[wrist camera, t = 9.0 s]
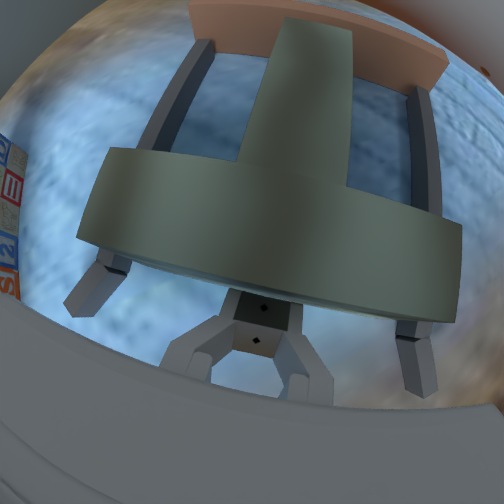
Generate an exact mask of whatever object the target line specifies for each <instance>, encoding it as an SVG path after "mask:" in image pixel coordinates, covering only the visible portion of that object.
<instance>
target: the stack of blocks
mask: <svg viewBox="0 0 504 504" xmlns="http://www.w3.org/2000/svg"><path fill="white" fill-rule="evenodd" d="M27 160H28V154H27V153H25V152H24V151H23V150H21V149H20V148H19V147H17V146H16V145H15V144H14V143H11V142H10V141H9V140H8V139H7V138H6V137H4V136H3V135H2V134H1V133H0V294H1V293H8V294H10V295H11V296H13V297H14V298H16V299H17V300H19V301H20V291H19V272H18V226H19V212H20V206H21V197H22V189H23V182H24V176H25V170H26V165H27Z"/></svg>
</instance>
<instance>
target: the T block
mask: <svg viewBox="0 0 504 504" xmlns="http://www.w3.org/2000/svg"><path fill="white" fill-rule="evenodd" d="M352 98H353V42H352V31H350V30H346V29H343V28H339V27H335V26H331V25H326V24H322V23H317V22H312V21H307V20H302V19H296V18H290V17H285V18H284V21H283V23H282V26H281V29H280V31H279V34H278V37H277V39H276V42H275V45H274V48H273V50H272V53H271V56H270V59H269V62H268V64H267V67H266V70H265V73H264V76H263V79H262V82H261V85H260V88H259V91H258V94H257V97H256V100H255V103H254V106H253V109H252V112H251V115H250V118H249V121H248V124H247V127H246V130H245V134H244V137H243V140H242V143H241V146H240V150H239V153H238V156H237V160H236V162H234V161H228V160H222V159H216V158H209V157H202V156H195V155H188V154H180V153H172V152H163V151H154V150H143V149H132V148H118V147H110V149H109V151H108V153H107V155H106V157H105V160H104V162H103V164H102V166H101V169H100V171H99V173H98V176H97V178H96V181H95V183H94V186H93V188H92V191H91V194H90V196H89V199H88V202H87V205H86V207H85V210H84V213H83V216H82V219H81V222H80V226H79V229H78V232H77V235H76V238H78V239H80V240H83V241H85V242H88V243H90V244H92V245H95V246H97V247H100V248H102V249H105V250H107V251H110V252H112V253H115V254H117V255H120V256H122V257H125V258H127V259H130V260H133V261H135V262H138V263H141V264H143V265H146V266H148V267H152V268H156V269H159V270H163V271H167V272H171V273H174V274H178V275H182V276H186V277H190V278H194V279H198V280H201V281H205V282H209V283H214V284H218V285H222V286H226V287H230V288H234V289H238V290H243V291H247V292H251V293H255V294H260V295H264V296H269V297H273V298H278V299H282V300H287V301H292V302H296V303H301V304H306V305H311V306H315V307H320V308H325V309H330V310H335V311H341V312H346V313H351V314H356V315H362V316H367V317H373V318H380V319H393V320H406V321H422V322H441V323H455V319H456V312H457V305H458V297H459V288H460V277H461V261H462V225H460V224H458V223H455V222H453V221H450V220H448V219H445V218H442V217H440V216H437V215H434V214H432V213H429V212H426V211H423V210H421V209H418V208H415V207H412V206H409V205H406V204H403V203H400V202H397V201H394V200H391V199H387V198H384V197H381V196H378V195H374V194H371V193H368V192H364V191H361V190H357V189H354V188H350V187H346V184H347V175H348V164H349V152H350V139H351V123H352Z"/></svg>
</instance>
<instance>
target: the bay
mask: <svg viewBox="0 0 504 504" xmlns="http://www.w3.org/2000/svg"><path fill="white" fill-rule="evenodd" d="M187 6H188V10H189V15H190V19H191V23H192V28H193V32H194V37H195V41H196V42H195V44H194V45H193V47H192V48H191V50H190V51H189V53H188V54H187V56H186V57H185V59H184V60H183V62H182V64H181V65H180V67H179V68H178V70H177V72H176V73H175V75H174V77H173V78H172V80H171V82H170V83H169V85H168V87H167V89H166V90H165V92H164V94H163V96H162V97H161V99H160V101H159V103H158V105H157V107H156V108H155V110H154V112H153V114H152V116H151V118H150V120H149V122H148V124H147V126H146V128H145V130H144V132H143V134H142V136H141V139H140V141H139V143H138V145H137V147H136V149H143V150H154V151H163V152H169V151H170V149H171V146H172V144H173V142H174V139H175V137H176V135H177V132H178V130H179V128H180V126H181V123H182V121H183V119H184V117H185V115H186V113H187V110H188V108H189V106H190V104H191V102H192V100H193V98H194V96H195V94H196V92H197V90H198V88H199V86H200V84H201V82H202V80H203V78H204V76H205V75H206V73H207V71H208V69H209V67H210V65H211V64H212V62H213V60H214V54H213V52H215V53H232V54H243V55H253V56H261V57H269V58H270V56H271V53H272V50H273V48H274V45H275V42H276V39H277V37H278V34H279V31H280V29H281V26H282V23H283V21H284V18H285V17H290V18H296V19H302V20H307V21H312V22H317V23H322V24H326V25H331V26H335V27H339V28H343V29H346V30H350V31H352V42H353V76H355V77H358V78H361V79H364V80H367V81H370V82H373V83H376V84H379V85H382V86H385V87H387V88H390V89H393V90H395V91H398V92H400V93H403V94H405V95H407V96H409V97H408V99H407V100H406V106H407V114H408V123H409V135H410V149H411V178H412V195H411V206H412V207H415V208H418V209H421V210H423V211H426V212H429V213H432V214H434V215H437V216H440V217H442V186H441V171H440V160H439V151H438V143H437V136H436V129H435V123H434V117H433V112H432V107H431V102H430V97H429V92H430V91H431V90H432V88H433V87H434V85H435V84H436V82H437V81H438V79H439V78H440V77H441V75H442V74H443V72H444V71H445V69H446V68H447V66H448V65H449V60H448V58H447V55H446V53H445V51H444V50H442V49H440V48H438V47H436V46H434V45H432V44H430V43H428V42H426V41H424V40H422V39H420V38H418V37H416V36H413V35H411V34H409V33H407V32H404V31H402V30H399V29H397V28H394V27H392V26H389V25H387V24H384V23H381V22H378V21H375V20H372V19H369V18H366V17H363V16H360V15H357V14H353V13H350V12H346V11H342V10H338V9H334V8H330V7H326V6H321V5H316V4H311V3H306V2H300V1H294V0H192V1H191V2H190V3H189V4H188V5H187ZM131 263H132V260H130V259H127V258H125V257H122V256H120V255H117V254H115V253H112V252H110V251H107V250H105V249H102V248H99V251H98V255H97V259H96V261H95V262H94V263H93V264H92V266H91V267H90V268H89V269H88V271H87V272H86V273H85V274H84V276H83V277H82V278H81V280H80V281H79V282H78V283H77V285H76V286H75V287H74V289H73V290H72V291H71V293H70V294H69V295H68V297H67V298H66V300H65V301H64V302H63V304H64V306H65V307H66V309H67V310H68V312H69V313H70V315H71V316H72V317H93V316H94V315H95V314H96V313H97V312H98V310H99V309H100V308H101V307H102V305H103V304H104V303H105V302H106V301H107V299H108V298H109V297H110V296H111V295H112V293H113V292H114V291H115V290H116V289H117V288H118V286H119V285H120V284H121V283H122V282H123V281H124V279H125V278H126V277H127V276H126V275H125V274H124V273H123V271H125V272H128V273H129V271H130V267H131ZM432 324H433V322H422V321H406V320H398V325H397V329H396V334H397V335H402V336H400V337H398V338H396V343H397V348H398V352H399V357H400V362H401V367H402V372H403V377H404V383H405V389H406V390H407V391H409V392H411V393H413V394H415V395H417V396H419V397H421V398H423V399H424V398H426V397H428V396H429V395H431V394H433V393H434V392H436V391H437V390H438V385H437V377H436V370H435V363H434V357H433V351H432V345H431V340H430V334H431V329H432Z"/></svg>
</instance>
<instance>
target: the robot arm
mask: <svg viewBox="0 0 504 504" xmlns="http://www.w3.org/2000/svg"><path fill="white" fill-rule="evenodd" d="M302 320H303V304H300V303H295V302H289V301H285V300H280V299H275V298H271V297H266V296H262V295H258V294H254V293H250V292H246V291H241V290H237V289H234V288H229V290H228V292H227V295H226V298H225V300H224V303H223V306H222V308H221V311H220V314H219V316H217V315H215V316H213V317H211V318H210V319H208V320H206V321H205V322H203V323H201V324H200V325H198V326H196V327H195V328H193V329H191V330H190V331H188V332H186V333H185V334H183V335H181V336H180V337H178V338H176V339H175V340H173V341H171V342H170V344H169V346H168V348H167V350H166V352H165V355H164V357H163V359H162V361H161V363H160V365H159V367H157V366H154V365H151V364H148V363H146V362H143V361H140V360H138V359H135V358H133V357H130V356H127V355H125V354H123V353H120V352H118V351H115V350H113V349H111V348H108V347H106V346H104V345H101V344H99V343H97V342H95V341H93V340H90V339H88V338H86V337H84V336H82V335H80V334H78V333H76V332H74V331H72V330H70V329H68V328H66V327H64V326H62V325H60V324H58V323H57V322H55V321H53V320H51V319H49V318H47V317H46V316H44V315H42V314H40V313H39V312H37V311H35V310H33V309H32V308H30V307H28V306H27V305H25V304H24V303H22V302H20V301H19V300H17V299H16V298H14V297H13V296H11V295H10V294H8V293H1V294H0V504H504V416H503V415H502V414H501V413H500V411H499V410H498V409H497V408H496V407H495V406H494V405H493V404H491V403H485V404H478V405H470V406H461V407H451V408H437V409H409V410H394V409H364V408H349V407H338V406H333V396H334V379H333V377H332V376H331V374H330V372H329V371H328V369H327V368H326V366H325V365H324V363H323V362H322V360H321V359H320V357H319V356H318V354H317V353H316V351H315V350H314V348H313V347H312V345H311V344H310V342H309V341H308V339H307V337H306V336H305V335H302ZM232 349H233V350H237V351H242V352H247V353H252V354H256V355H260V356H264V357H268V358H273V361H274V363H275V366H276V368H277V370H278V373H279V375H280V377H281V379H282V382H283V384H284V388H283V390H282V391H281V393H280V395H279V397H278V398H273V397H268V396H263V395H258V394H253V393H248V392H244V391H239V390H235V389H231V388H227V387H223V386H219V385H215V384H211V371H212V367H213V366H214V365H215V364H216V363H218V362H219V361H220V360H221V359H222V358H223V357H225V356H226V355H227V354H228V353H229V352H231V351H232Z"/></svg>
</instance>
